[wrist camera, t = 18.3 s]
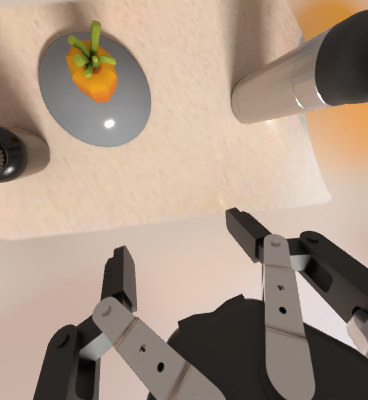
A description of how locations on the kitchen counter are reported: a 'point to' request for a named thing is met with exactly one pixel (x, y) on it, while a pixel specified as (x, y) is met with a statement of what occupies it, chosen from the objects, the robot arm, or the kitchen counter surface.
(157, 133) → the kitchen counter surface
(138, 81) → the slate plate
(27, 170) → the supplement bottle
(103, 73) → the carrot
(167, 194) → the kitchen counter surface
